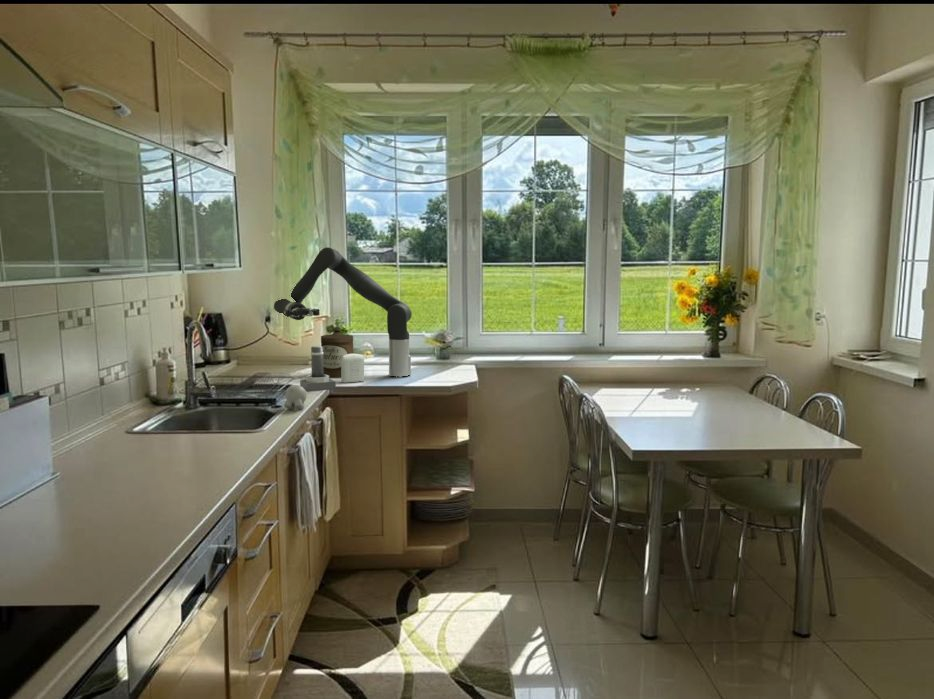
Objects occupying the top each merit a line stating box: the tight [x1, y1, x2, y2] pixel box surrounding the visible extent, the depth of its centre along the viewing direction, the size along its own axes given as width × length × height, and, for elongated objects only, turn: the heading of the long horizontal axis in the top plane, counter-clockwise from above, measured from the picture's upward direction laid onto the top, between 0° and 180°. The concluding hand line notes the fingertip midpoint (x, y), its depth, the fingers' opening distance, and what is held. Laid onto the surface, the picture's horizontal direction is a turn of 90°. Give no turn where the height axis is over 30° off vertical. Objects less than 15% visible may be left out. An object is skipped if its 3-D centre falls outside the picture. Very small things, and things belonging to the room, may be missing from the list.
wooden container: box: [320, 326, 355, 379], centre depth 294 cm, size 15×15×22 cm
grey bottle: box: [310, 345, 324, 378], centre depth 262 cm, size 5×5×14 cm
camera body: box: [299, 374, 337, 392], centre depth 263 cm, size 12×9×5 cm
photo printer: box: [340, 353, 365, 384], centre depth 278 cm, size 10×4×12 cm, turn 123°
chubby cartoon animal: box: [283, 384, 307, 411], centre depth 227 cm, size 7×12×8 cm, turn 176°
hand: (307, 313), depth 271 cm, fingers open, 8 cm apart
